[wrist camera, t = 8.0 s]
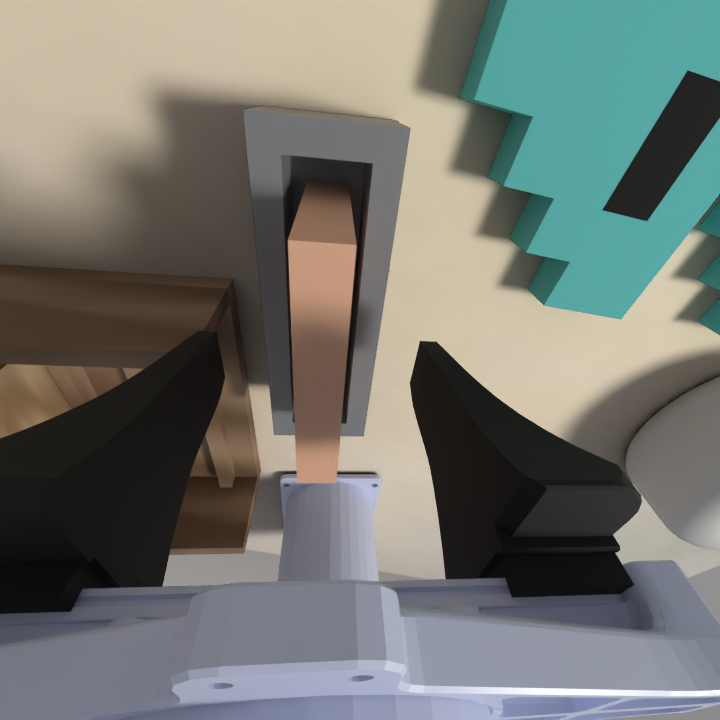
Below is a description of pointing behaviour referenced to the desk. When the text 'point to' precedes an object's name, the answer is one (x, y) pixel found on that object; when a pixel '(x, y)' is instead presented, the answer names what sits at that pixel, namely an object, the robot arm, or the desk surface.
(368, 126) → the holder
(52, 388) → the offcut
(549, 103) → the alien figure
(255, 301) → the desk surface
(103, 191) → the desk surface
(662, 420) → the donut shape
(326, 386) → the salmon rectangular block
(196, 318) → the rack
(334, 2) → the desk surface
